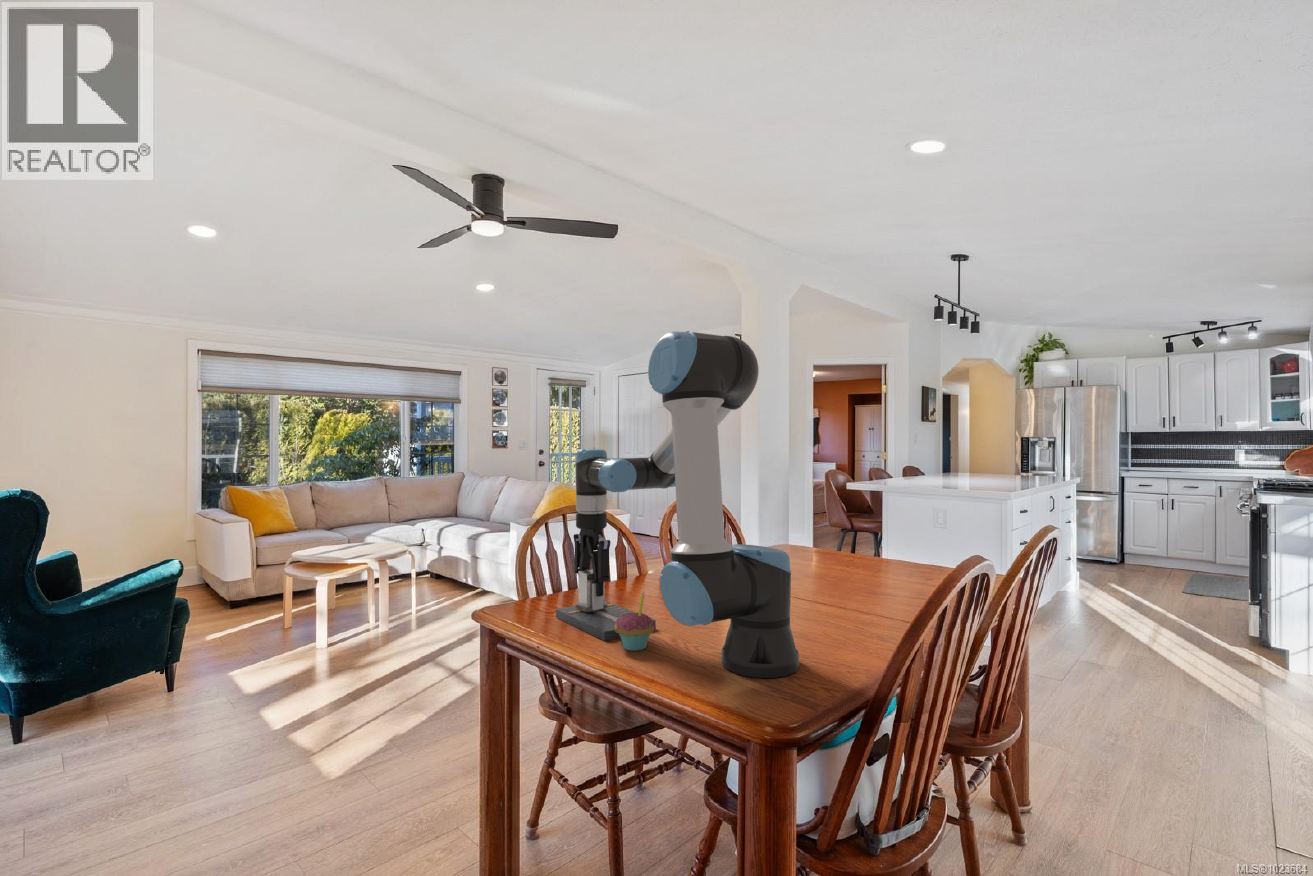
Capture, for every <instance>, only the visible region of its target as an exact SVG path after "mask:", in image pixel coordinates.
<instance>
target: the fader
mask: <svg viewBox="0 0 1313 876" xmlns="http://www.w3.org/2000/svg"><path fill="white" fill-rule="evenodd" d="M577 576H578V579H577V580H578V587H577V589H578V594H577V595H578V597H577V598H578V603H575V606H576V608H577V609H580V610H582V611H584V612H591V611H596V610H592V581H594V576H593V568H592V569H590V570H589V569H586V570H584V571H578V574H577ZM603 592H604V594H603V608H602V609H606V608H607V604H606V603H604V600H605V590H604V591H603ZM597 610H601V609H597Z"/></svg>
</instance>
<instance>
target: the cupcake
mask: <svg viewBox="0 0 1313 876" xmlns="http://www.w3.org/2000/svg"><path fill="white" fill-rule="evenodd" d="M644 594H645V591H642V594H641V595H640V601H639V606H638V612H635V613H629V614H628V613H627V614H625V615H622V616H621V617H619V618H618V619H617V620H616V622H615V632H617V633H619V635H620V639H621V642H622V646H623V648H624V649H625V650H627V651H635V652H636V651H641V650H644V649H646V648H647V644H648V641H649V637H650V635H651V634H653V632H654V630H655V629H654V626H655V622H654V621H653V620H654V619H653V618H651V617H649V615H647V614H646V613H643V612H642V611H643V606H644V605H643V604H644V599H645V595H644ZM652 619H653V620H652Z"/></svg>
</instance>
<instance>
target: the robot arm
mask: <svg viewBox="0 0 1313 876" xmlns="http://www.w3.org/2000/svg"><path fill="white" fill-rule="evenodd" d="M649 357H650V358H649V361H648V369H647V372H648V373H647V375H648V381H649V384H650V385H651V388H652V390H653V391H655V392H656V393H658V394H659V395H661V396H662V398H661V399H662V406H663V407H664V408H665V409H666V410H667V411H668V412H669V414H670V415H671V430H670V431H669V432H668V433H667V434H666V436H665V437H664V438H663V439H662V441H661V442H660V444H659V445H658V446H657V447H656V449H655V450H654V451H653V452H652V454H651V455H650V456H649V457H629V458H628V457H623V458H621V457H619V458H615V457H613V458H609V457H608V455H607V451H606V450H605V449H604V448H582V449H578V450H577V451H576V458H575V492H576V493H575V510H576V511H577V512H576V514H575V527H576V528H577V529H580V530H579V533H574V534H573V535H572V536H573V541H574V560H573V561H574V562H573V563H574V565H573V567H574V574H577V575H578V571H584V570H586V569H589V570H591V569H590V568H591V567H592V569H593V576H594V581H592V610H597V609H602V608H603V594H604V595H605V582H607V581H610V547H611V540H609V539H605V538H604V533H603V530H604V529H606V528H607V526H608V525H607V523H608V520H607V519H608V516H607V515H608V514H607V512H606V510H607V499H608V498H607V493H608V492H611V493H624V492H627V491H631V490H632V491H633V490H645V489H646V490H650V489H668V488H674V487H675V500H676V501H675V502H676V519H677V521H676V522H677V537H678V541H677V542H676V544H675V545H674V546H673V547H672V548H671V550H670V560H671V561H669V562H668V563H667V564H665V565H664V566H663V567H662V569H661V573H660V575H659V590H660V591H659V592H660V595H661V599H662V602H663V604H664V606H665V608H666V610H667V611H668V612H669V614H670V616H671V617H672V618H673V619H674V620H675V621H676V622H678V623H679V624H682V625H684V626H687V627H692V626H700V625H701V626H706V625H709V624H711V623H716V622H720V621H725V620H730V623H729V626H728V629H727V633H726V635H725V640H724V641H725V642H724V644H723V646H722V649H721V652H720V653H721V654H720V655H721V660H720V662H721V665H722V666H723V667H724V668H725V669H726V670H727V671H730V672H732V673H734V674H737V675H741V676H745V677H750V678H758V679H759V678H760V679H772V678H773V679H775V678H782V677H786V676H790V675H792V674H794V673H796V672H797V671H798V670H799V668H800V653H799V651H798V649H797V647H796V643H795V639H794V635H793V632H792V627H791V590H792V589H791V588H792V587H791V586H792V585H791V584H792V583H791V582H792V580H791V579H792V570H791V560H790V559H791V558H790V556H789V554H788V553H787V552H786V551H784V550H782V549H778V548H774V547H769V546H762V545H756V544H755V545H754V544H739V543H735V544H733V545H732V544H730V543H729V541H727V539H726V538H725V527H724V526H725V525H724V507H723V506H724V505H723V494H722V493H723V491H722V479H721V478H722V473H721V460H720V445H719V442H720V441H719V427H718V426H719V425H720V424H721V423H722V421H723V420H724V419H725V418H726V417H727V416H728V415H729V414H730V412H731V411H735V410H738V409H740V408H741V407H742V406H743V405H744V404H745V403H746V401H747V400H748V399H749V398H750V396H751V395H752V393H753V391H754V390H755V388H756V385H757V383H758V380H759V379H758V378H759V363H758V362H759V361H758V359H757V356H756V354H755V351H754V350H753V349H752V348H751V347H750V345H749V344H747V342H746V341H744V340H742V339H740V338H738V337H736V336H731V335H718V334H711V333H702V332H695V331H691V330H687V331H670V332H667V333H665V334H664V335H663V336H662V337H661V338H659V340H658V341H657V342H656V344H655V346H654V348H653V349H652V351H651V354H650V356H649ZM607 491H608V492H607ZM603 591H604V592H603Z"/></svg>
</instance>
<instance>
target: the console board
mask: <svg viewBox="0 0 1313 876" xmlns="http://www.w3.org/2000/svg"><path fill="white" fill-rule="evenodd" d="M604 603H606V604H607V608H606V609H601V610H596V611H591V612H584V611H582V610H580V609H577V608H576V605H573V606H572V605H571V606H566V607H561V608H556V609H555V618H556V619H558V620H560V621H562V622H564V623H567V624H569V625H571V626H573V627H576V628H577V629H580V630H581V631H583V632H585V633H587V634H589V635H591V636H593V637H596V638H597V639H600V640H601V641H603V642H607V641H610V640H614V639H619V638H620V639H621V637H620V635H619V633H617V632H615V622H616V620H617V619H618V618H619V617H621V616H622V615H625V614H627V613H628V614H629V613H636V612H635V611H633V610H630V609H628V608H625V607H622V606H620V605H617V604H615V603H612V602H610V601H607V600H605V599H604ZM651 619H652V620H653V621H654V622H655V626H654V630H656V627H657V626H656V625H657V624H656V621H657V620H655V619H653V618H651Z"/></svg>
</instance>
